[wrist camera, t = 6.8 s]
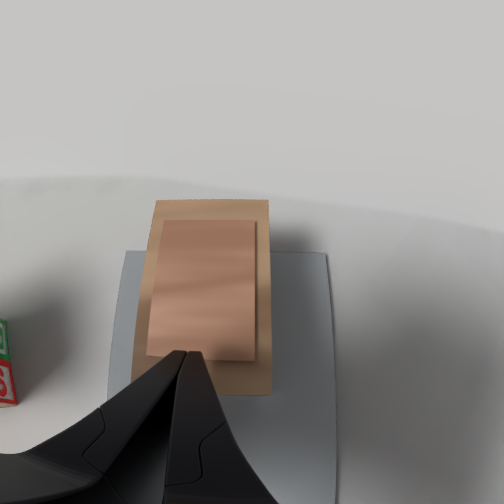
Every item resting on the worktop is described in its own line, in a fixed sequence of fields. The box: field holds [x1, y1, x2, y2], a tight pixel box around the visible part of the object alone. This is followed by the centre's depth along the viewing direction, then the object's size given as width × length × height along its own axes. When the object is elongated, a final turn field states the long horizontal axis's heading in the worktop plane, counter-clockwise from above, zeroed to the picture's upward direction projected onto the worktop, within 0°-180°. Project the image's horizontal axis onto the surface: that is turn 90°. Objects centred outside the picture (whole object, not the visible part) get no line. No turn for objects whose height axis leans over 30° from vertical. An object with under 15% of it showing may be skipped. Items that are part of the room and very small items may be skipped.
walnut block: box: [131, 199, 272, 396], centre depth 13 cm, size 5×5×8 cm
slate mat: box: [107, 251, 337, 504], centre depth 13 cm, size 20×12×1 cm, turn 0°
